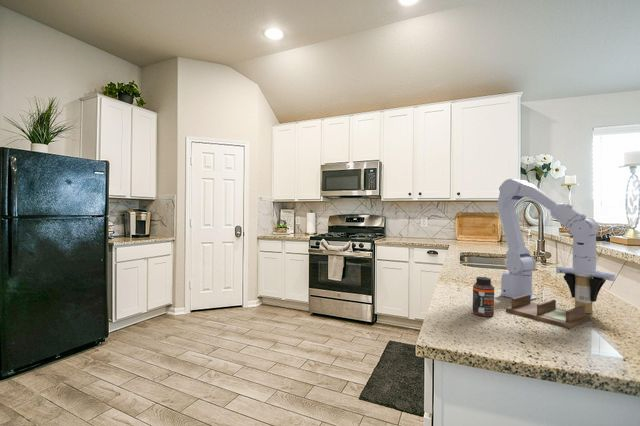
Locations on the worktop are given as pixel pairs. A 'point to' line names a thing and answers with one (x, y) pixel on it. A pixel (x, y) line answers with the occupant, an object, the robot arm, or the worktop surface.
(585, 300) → the sprinkles bottle
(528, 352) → the worktop surface
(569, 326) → the slot rack
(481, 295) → the supplement bottle
